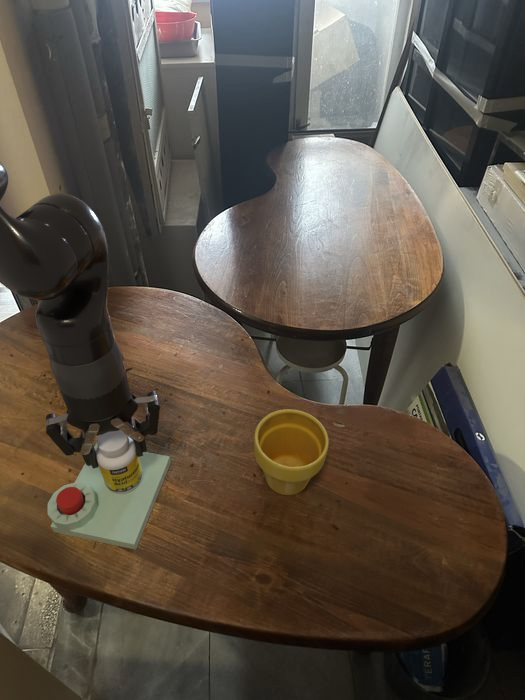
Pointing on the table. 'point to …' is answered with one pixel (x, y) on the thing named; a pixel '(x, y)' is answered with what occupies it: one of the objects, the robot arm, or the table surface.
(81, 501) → the button
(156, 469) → the pale green flat piece
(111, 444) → the supplement bottle
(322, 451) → the flower pot
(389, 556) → the table surface
